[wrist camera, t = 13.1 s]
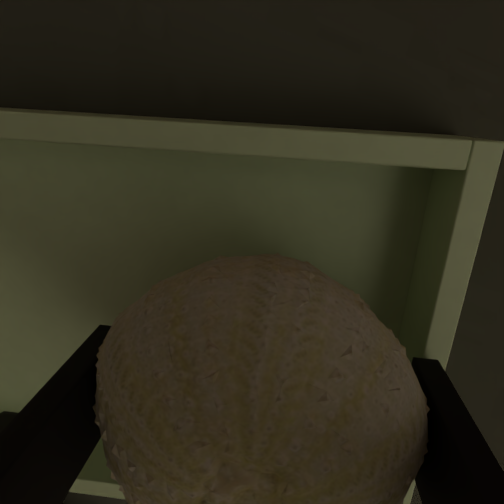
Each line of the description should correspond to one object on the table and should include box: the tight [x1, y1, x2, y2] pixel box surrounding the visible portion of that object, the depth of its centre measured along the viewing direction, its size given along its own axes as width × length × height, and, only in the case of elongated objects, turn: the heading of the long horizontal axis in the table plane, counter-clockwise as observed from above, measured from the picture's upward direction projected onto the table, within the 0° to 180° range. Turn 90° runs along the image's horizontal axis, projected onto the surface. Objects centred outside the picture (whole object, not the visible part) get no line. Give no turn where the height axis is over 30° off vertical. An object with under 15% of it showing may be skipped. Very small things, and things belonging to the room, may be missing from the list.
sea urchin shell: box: [93, 253, 430, 504], centre depth 11 cm, size 9×8×8 cm
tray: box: [0, 107, 504, 504], centre depth 15 cm, size 22×15×3 cm
